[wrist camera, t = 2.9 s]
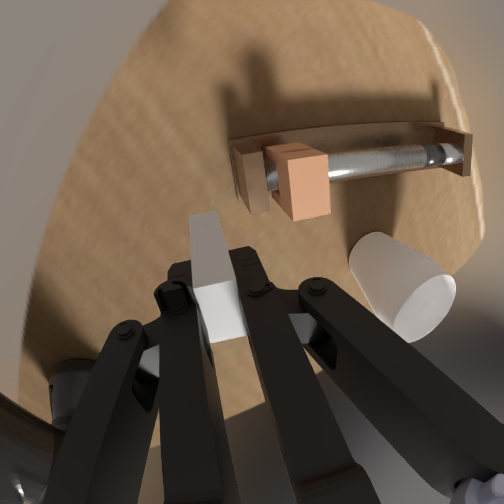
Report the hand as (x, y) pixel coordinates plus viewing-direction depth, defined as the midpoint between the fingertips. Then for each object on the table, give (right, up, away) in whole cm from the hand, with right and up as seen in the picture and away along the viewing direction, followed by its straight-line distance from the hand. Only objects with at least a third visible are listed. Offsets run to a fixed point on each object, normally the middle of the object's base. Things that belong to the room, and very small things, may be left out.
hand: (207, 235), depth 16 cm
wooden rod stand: (+13, +10, +14) cm, 21 cm away
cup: (+17, -1, +21) cm, 27 cm away
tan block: (+5, +6, +10) cm, 13 cm away
